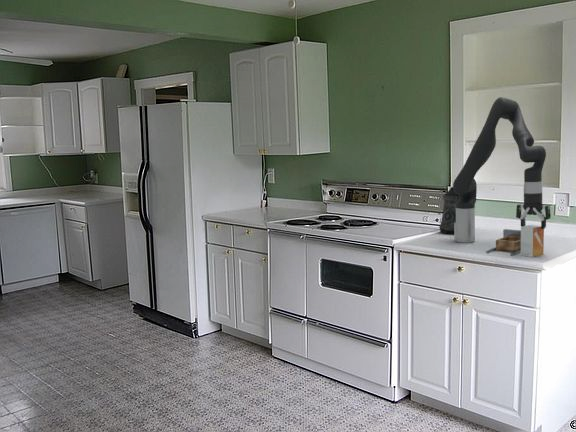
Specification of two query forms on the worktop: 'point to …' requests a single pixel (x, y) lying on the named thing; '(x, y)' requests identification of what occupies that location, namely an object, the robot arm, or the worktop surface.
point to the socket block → (508, 244)
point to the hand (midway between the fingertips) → (533, 228)
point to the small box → (532, 240)
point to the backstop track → (509, 233)
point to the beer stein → (449, 212)
